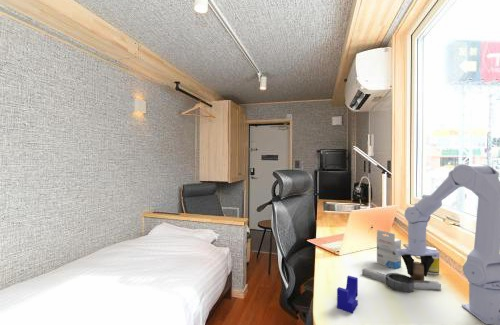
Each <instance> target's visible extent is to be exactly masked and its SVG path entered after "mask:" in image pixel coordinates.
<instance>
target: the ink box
mask: <svg viewBox="0 0 500 325" xmlns="http://www.w3.org/2000/svg"><path fill="white" fill-rule="evenodd" d="M376 232H377V233H376V263H377V264H380V265H382V266H385V267H389V268H391V269H394V270H396V269H398V268H401V267H402V256H398V255H397V254H396V249H402V239H399V238H395V237H396V234H395V233H393V232H387V231H383V230H379V229H377V230H376Z"/></svg>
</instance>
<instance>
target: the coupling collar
mask: <svg viewBox="0 0 500 325" xmlns="http://www.w3.org/2000/svg"><path fill="white" fill-rule="evenodd" d="M361 273H362V274H361V275H362V276H365V277H368V278H371V279H373V280H376V281H379V282H382V283H385V285H386V286H387V287H388V288H389V289H391V290H393V291H396V292H400V293H408V294H409V293H413V292H414V290H428V291H431V290H432V291H442V284H441V282H439V281H437V280H425V279H424V280H413V279H412V278H411V277H410V276H408V275H406V274H402V273H397V272H390V273H386V274H385V273H382V272H379V271H376V270H373V269H370V268H366V267H363V268H362V270H361Z"/></svg>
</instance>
